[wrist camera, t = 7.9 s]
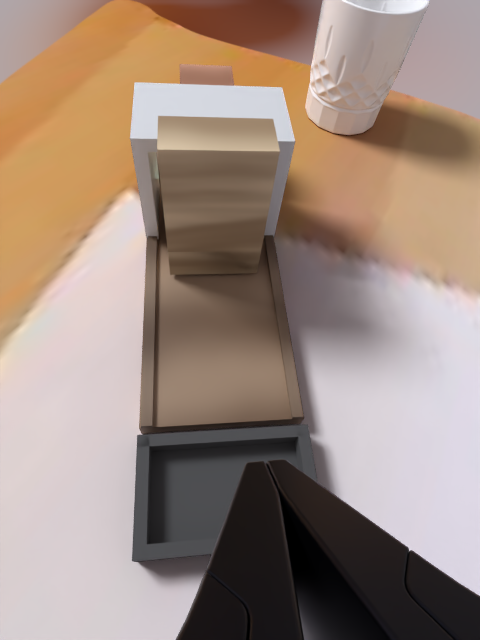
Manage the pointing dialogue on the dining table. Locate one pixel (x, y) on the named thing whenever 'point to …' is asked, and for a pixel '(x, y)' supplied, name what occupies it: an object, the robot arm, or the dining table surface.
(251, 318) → the track
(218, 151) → the wood grain block
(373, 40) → the white cup
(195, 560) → the dining table surface
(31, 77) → the dining table surface
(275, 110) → the tunnel
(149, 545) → the tray
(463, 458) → the dining table surface
